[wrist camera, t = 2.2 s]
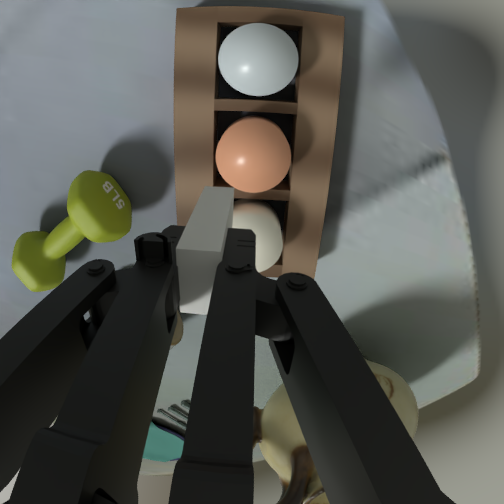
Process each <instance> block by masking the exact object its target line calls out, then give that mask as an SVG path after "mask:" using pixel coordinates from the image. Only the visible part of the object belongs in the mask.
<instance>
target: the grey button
mask: <svg viewBox="0 0 504 504" xmlns="http://www.w3.org/2000/svg"><path fill="white" fill-rule="evenodd" d="M218 63H219V68H220V71H221V74H222V76H223V77H224V79H225V80H226V81H227V83H228V84H229V85H230V86H232V87H233V88H234V89H236V90H237V91H239V92H241V93H244V94H247V95H252V96H265V95H270V94H273V93H276V92H278V91H280V90H281V89H283V88H284V87H286V86H287V85H288V84H289V83H290V81H291V80H292V79H293V77H294V76H295V73H296V71H297V68H298V52H297V48H296V46H295V44H294V42H293V41H292V39H291V38H290V37H289V36H288V35H287V34H286V33H285V32H284V31H283V30H281V29H279V28H277V27H276V26H273V25H270V24H265V23H251V24H247V25H243V26H241V27H239V28H237V29H235V30H234V31H232V32H231V33H230V34H229V35H228V36H227V37H226V38H225V40H224V41H223V43H222V45H221V47H220V50H219V56H218Z"/></svg>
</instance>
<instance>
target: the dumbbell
mask: <svg viewBox="0 0 504 504" xmlns="http://www.w3.org/2000/svg"><path fill="white" fill-rule="evenodd" d="M67 211H68V214H69V216H68V217H66V218H65V219H64V220H63V221H62V222H60V223H59V224H58V225H57V226H56V227H55V228H54V229H53V230H52V232H51V233H50V234H49V233H48V232H44V231H32V232H26V233H24V234H22V235H21V236H20V237H19V238H18V240H17V241H16V244H15V247H14V251H13V257H12V269H13V271H14V272H15V274H16V275H17V276H18V278H19V279H20V280H21V281H22V282H23V283H24V285H25V286H26V287H27V288H28V289H30V290H31V291H34V292H41V291H46V290H50V289H53V288H55V287H57V286H58V285H59V284H61V282H62V281H63V279H64V274H65V266H66V258H65V254H66V253H68V252H69V251H70V250H71V249H73V248H74V247H75V246H76V245H77V244H78V243H79V242H81V241H82V240H83V239H84V238H85V237H86V238H87V239H89V240H91V241H93V242H112V241H116V240H118V239H120V238H122V237H123V236H125V235H126V234H127V233H128V232H129V231H130V228H131V222H132V210H131V203H130V200H129V198H128V197H127V195H126V194H125V192H124V191H123V190H122V188H121V187H120V186H119V184H118V183H117V182H116V181H115V179H114V178H113V177H111V176H110V175H109V174H106V173H103V172H98V171H91V170H87V171H83V172H82V173H80V174H79V175H78V176H77V177H76V178H75V179H74V181H73V182H72V184H71V186H70V189H69V193H68V199H67Z"/></svg>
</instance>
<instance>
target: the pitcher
mask: <svg viewBox="0 0 504 504" xmlns="http://www.w3.org/2000/svg"><path fill="white" fill-rule="evenodd" d="M364 359H365V358H364ZM365 361H366V362H367V364H368V365H369V367H370V369H371V370H372V372H373V374H374V375H375V377H376V379H377V380H378V382H379V384H380V385H381V387H382V389H383V390H384V392H385V394H386V395H387V397H388V399H389V400H390V402H391V404H392V405H393V407H394V409H395V411H396V412H397V414H398V416H399V417H400V419H401V421H402V422H403V424H404V426H405V428H406V429H407V431H408V433H409V435H410V436H411V438H412V440H413V438H414V435H415V432H416V429H417V424H418V406H417V402H416V399H415V396H414V394H413V392H412V390H411V388H410V387H409V385H408V384H407V383H406V381H405V380H404V379H403V378H402V377H401V376H400V375H398V374H397V373H396V372H394V371H393V370H391V369H389V368H388V367H386V366H383V365H381V364H378V363H375V362H371V361H368V360H366V359H365ZM256 443H259V446H260V449H261V451H262V454H263V456H264V458H265V459H266V461H267V462H268V463H269V465H270V466H271V467H272V468H273V469H274V470H275V471H276V472H277V473H278V475H279V478H280V483H281V486H282V495H281V498H280V500H279V501H278V503H277V504H329V501H328V499H327V496H326V493H325V491H324V488H323V486H322V483H321V481H320V478H319V475H318V473H317V470H316V468H315V465H314V462H313V460H312V457H311V455H310V452H309V449H308V447H307V444H306V441H305V439H304V436H303V434H302V431H301V428H300V426H299V423H298V420H297V418H296V415H295V412H294V410H293V407H292V404H291V402H290V399H289V396H288V394H287V391H286V388H285V386H284V383H282V384H281V385H280V386H279V388H278V389H277V390H276V391H275V392H274V393H273V394H272V396H271V397H270V399H269V400H268V402H267V404H266V405H265V407H264V409H259V408H258V407H255V406H254V409H253V449H254V447H255V445H256Z"/></svg>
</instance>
